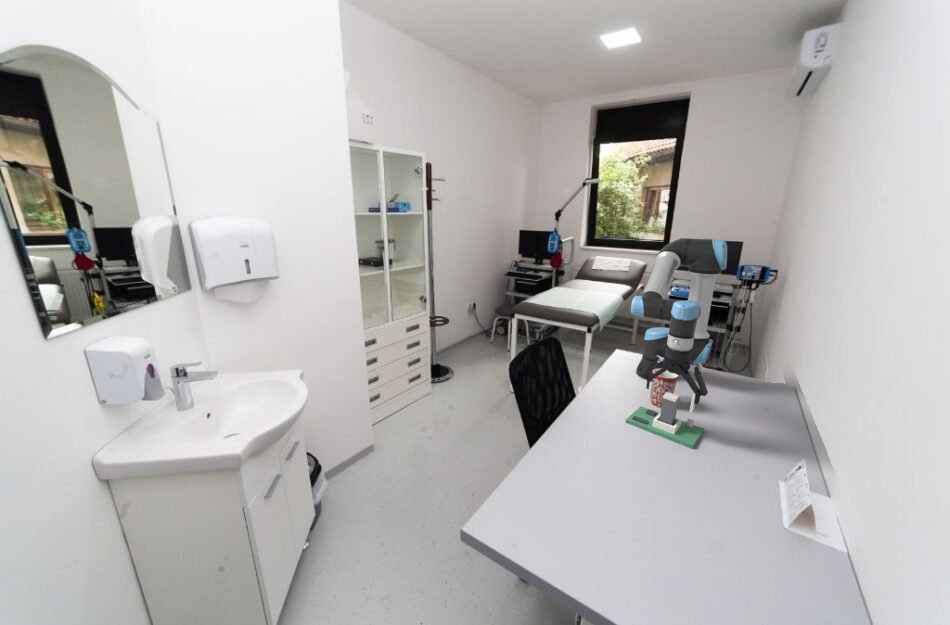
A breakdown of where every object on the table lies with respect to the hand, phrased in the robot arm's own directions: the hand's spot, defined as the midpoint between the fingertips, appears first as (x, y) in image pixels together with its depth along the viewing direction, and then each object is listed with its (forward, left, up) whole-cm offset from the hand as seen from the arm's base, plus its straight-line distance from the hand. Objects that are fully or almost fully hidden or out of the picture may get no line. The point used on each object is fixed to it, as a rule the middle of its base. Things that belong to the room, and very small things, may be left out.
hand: (670, 404), depth 128 cm
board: (-1, -1, -10) cm, 10 cm away
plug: (0, 0, -8) cm, 8 cm away
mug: (-20, -8, -10) cm, 23 cm away
